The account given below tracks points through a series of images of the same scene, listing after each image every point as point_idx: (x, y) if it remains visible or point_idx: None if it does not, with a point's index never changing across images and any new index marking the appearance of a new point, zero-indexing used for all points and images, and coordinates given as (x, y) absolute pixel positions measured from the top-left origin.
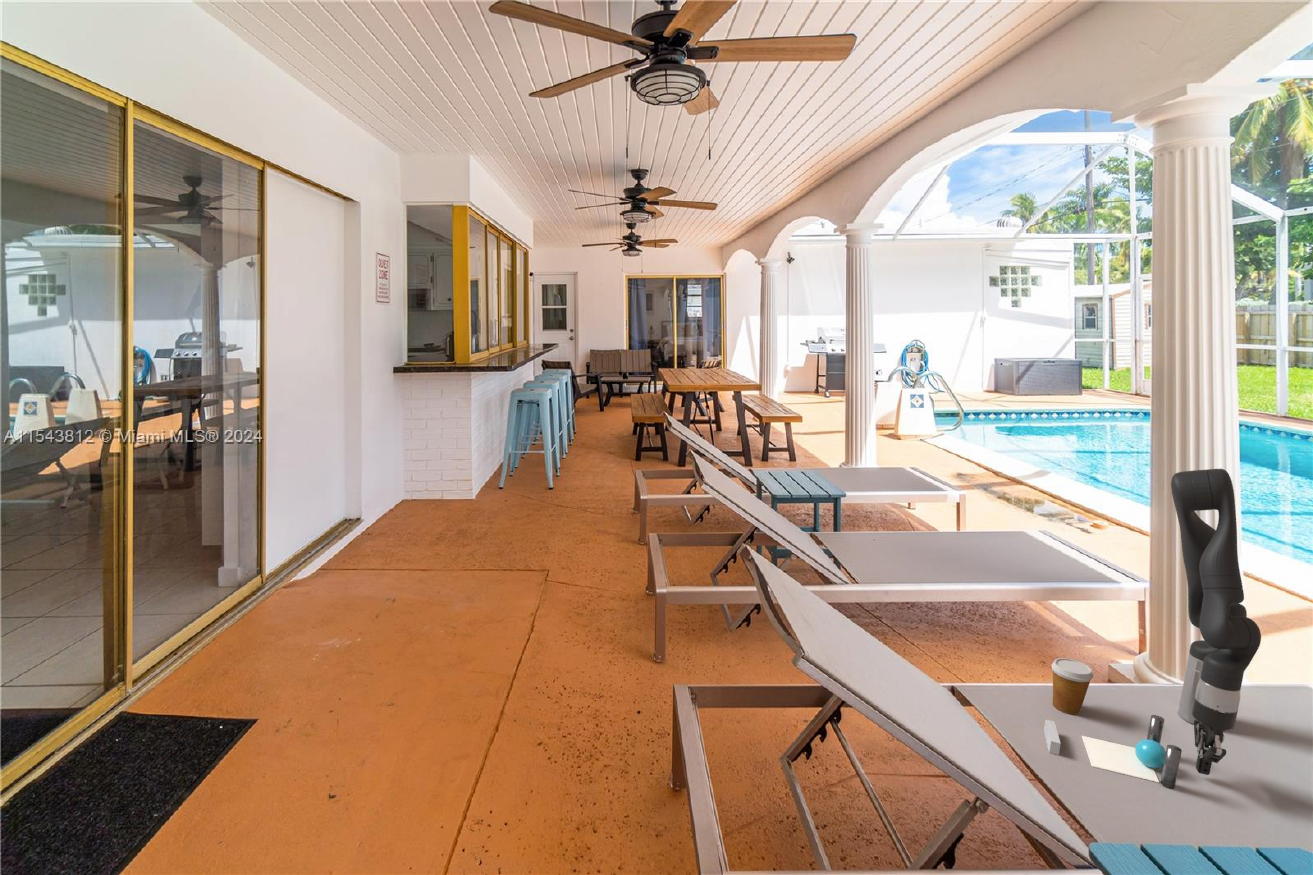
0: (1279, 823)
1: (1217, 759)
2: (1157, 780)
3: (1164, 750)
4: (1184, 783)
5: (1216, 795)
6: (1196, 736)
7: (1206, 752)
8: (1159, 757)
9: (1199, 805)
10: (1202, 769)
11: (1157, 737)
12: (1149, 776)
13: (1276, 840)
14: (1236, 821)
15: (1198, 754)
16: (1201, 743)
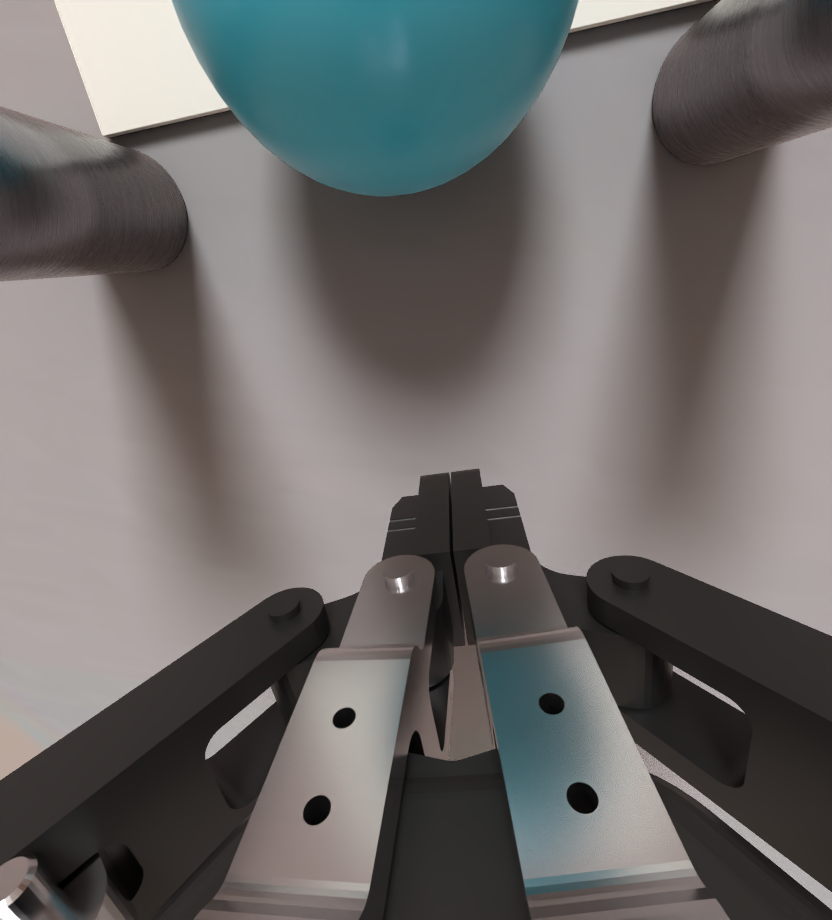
0: (219, 745)
1: (223, 753)
2: (118, 117)
3: (331, 113)
4: (281, 355)
5: (273, 535)
6: (734, 666)
7: (179, 709)
8: (196, 53)
9: (37, 419)
10: (393, 519)
11: (814, 18)
12: (132, 32)
13: (38, 707)
14: (47, 586)
15: (491, 548)
16: (294, 737)
